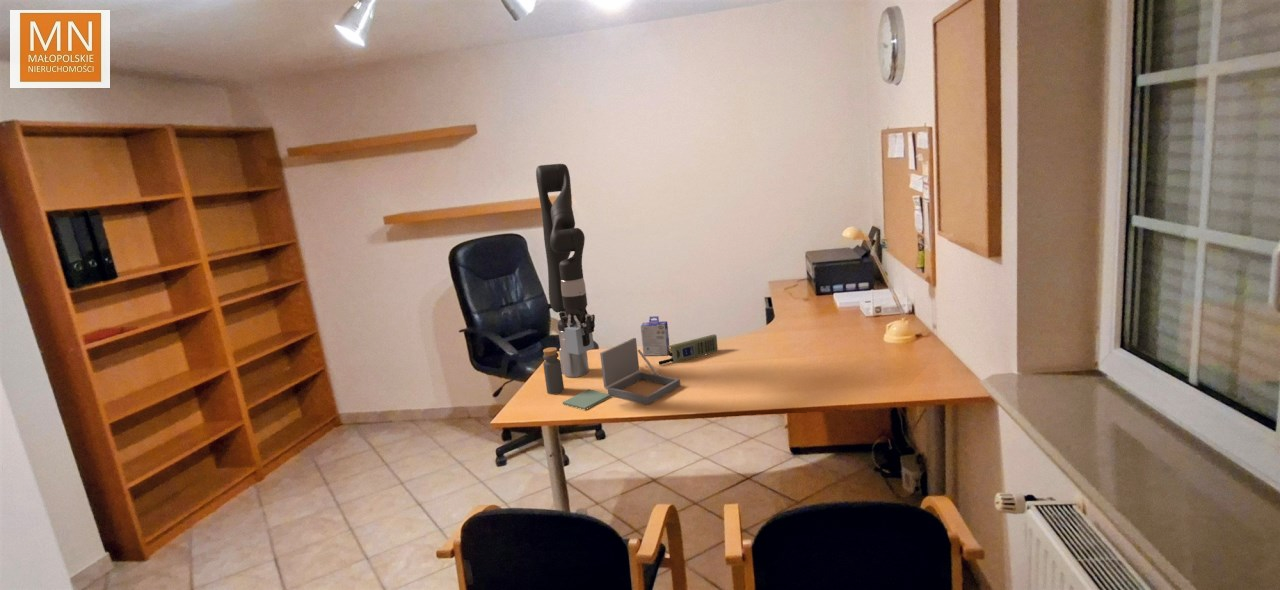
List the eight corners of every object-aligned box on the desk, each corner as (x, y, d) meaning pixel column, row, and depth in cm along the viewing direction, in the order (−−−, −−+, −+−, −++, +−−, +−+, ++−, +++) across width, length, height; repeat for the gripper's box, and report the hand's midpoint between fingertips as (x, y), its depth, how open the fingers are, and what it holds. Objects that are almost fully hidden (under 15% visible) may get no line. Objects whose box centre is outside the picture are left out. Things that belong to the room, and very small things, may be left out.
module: (567, 352, 200) (564, 328, 198) (583, 346, 205) (580, 322, 203) (578, 354, 197) (575, 330, 195) (594, 348, 202) (591, 324, 200)
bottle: (557, 386, 220) (551, 345, 216) (567, 389, 215) (562, 348, 212) (543, 392, 216) (537, 350, 212) (554, 395, 212) (548, 353, 208)
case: (648, 404, 196) (643, 360, 193) (604, 394, 208) (600, 352, 205) (682, 385, 210) (679, 343, 206) (640, 376, 221) (636, 337, 218)
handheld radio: (719, 352, 239) (661, 367, 229) (714, 350, 242) (657, 365, 231) (717, 335, 238) (659, 350, 227) (712, 333, 241) (655, 348, 230)
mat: (562, 404, 203) (562, 402, 203) (588, 391, 212) (588, 389, 212) (584, 410, 197) (584, 407, 197) (610, 396, 206) (610, 394, 206)
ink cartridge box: (670, 350, 246) (667, 315, 243) (668, 355, 241) (665, 319, 237) (645, 351, 248) (642, 316, 245) (643, 356, 243) (639, 320, 239)
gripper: (549, 293, 198) (556, 345, 202) (581, 297, 189) (588, 351, 193) (566, 288, 204) (572, 338, 208) (598, 291, 195) (604, 343, 199)
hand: (580, 344), depth 200 cm, fingers closed on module, 5 cm apart
